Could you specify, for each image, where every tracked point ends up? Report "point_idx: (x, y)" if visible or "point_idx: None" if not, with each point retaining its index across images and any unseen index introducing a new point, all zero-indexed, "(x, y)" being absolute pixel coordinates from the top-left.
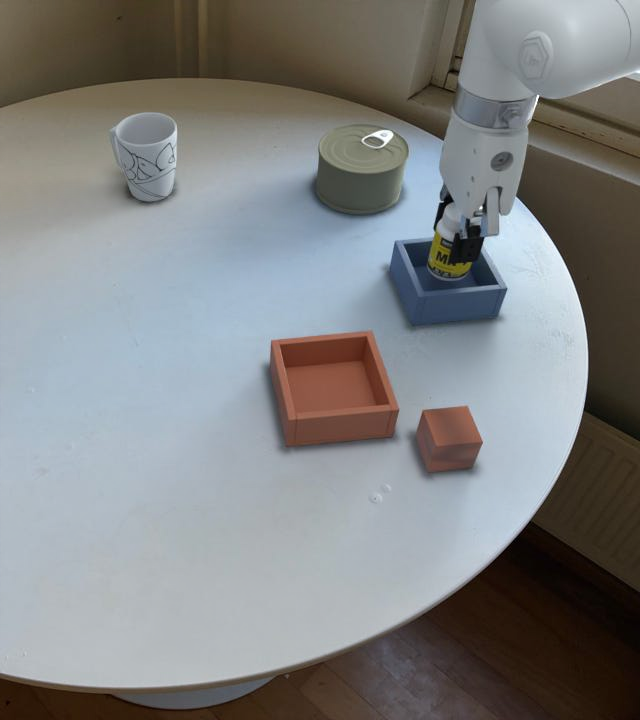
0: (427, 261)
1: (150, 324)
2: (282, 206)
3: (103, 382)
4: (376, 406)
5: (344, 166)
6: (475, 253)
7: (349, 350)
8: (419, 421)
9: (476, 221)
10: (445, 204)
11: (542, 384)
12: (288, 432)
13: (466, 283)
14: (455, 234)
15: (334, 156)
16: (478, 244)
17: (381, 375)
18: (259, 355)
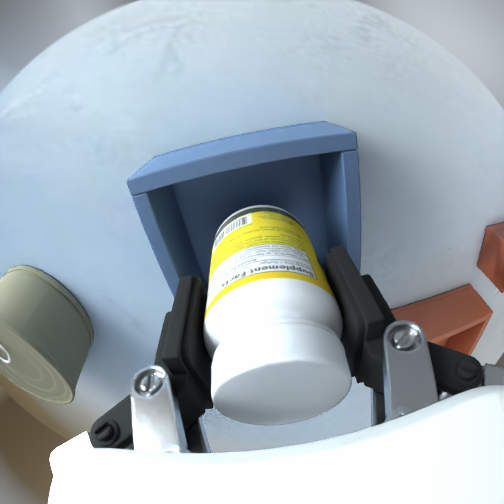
0: (189, 248)
1: (302, 428)
2: (112, 379)
3: (352, 427)
4: (482, 329)
5: (63, 389)
6: (376, 287)
7: None
8: (491, 281)
9: (346, 369)
10: (206, 401)
11: (456, 102)
12: None
13: (236, 171)
14: (360, 380)
15: (50, 391)
16: (389, 311)
17: (459, 331)
18: (352, 382)
